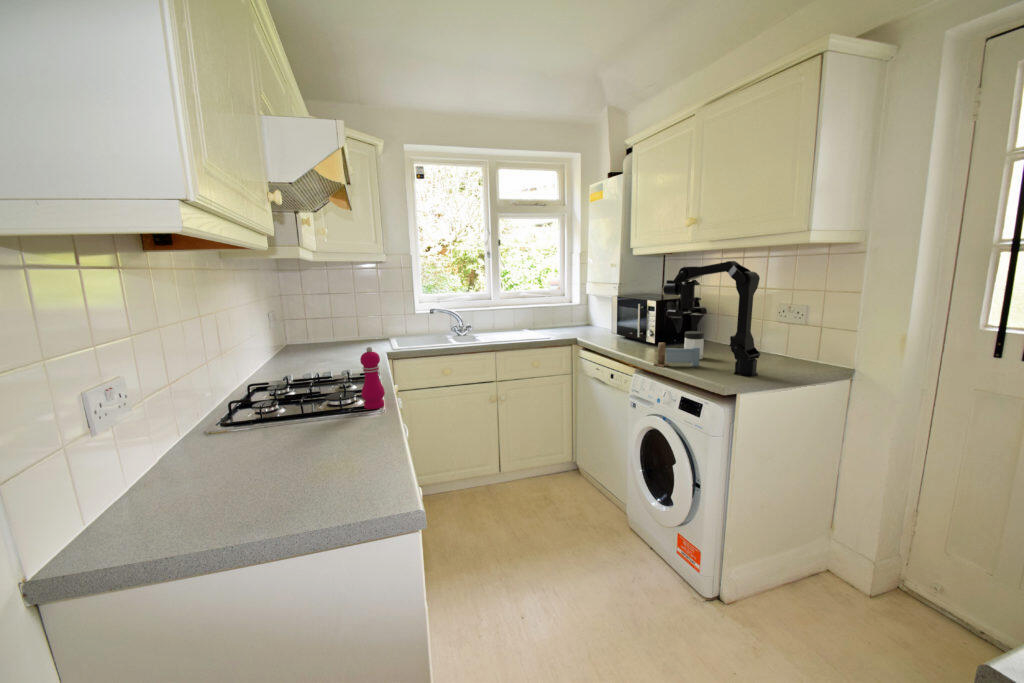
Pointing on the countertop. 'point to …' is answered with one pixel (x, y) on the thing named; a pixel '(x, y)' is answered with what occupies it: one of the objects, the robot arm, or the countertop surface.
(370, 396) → the pepper mill
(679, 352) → the gate
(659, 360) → the hinge post
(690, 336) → the jar
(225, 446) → the countertop surface
